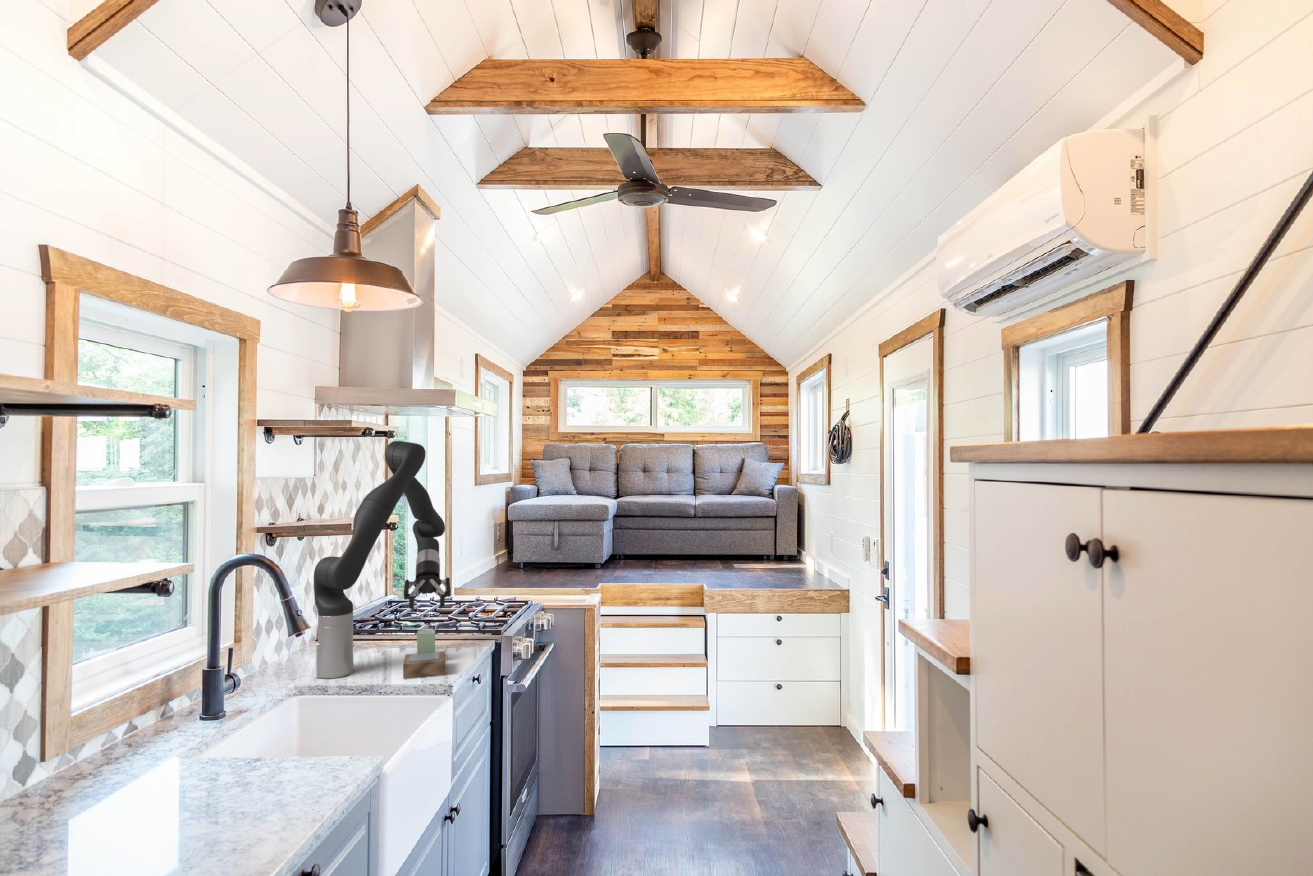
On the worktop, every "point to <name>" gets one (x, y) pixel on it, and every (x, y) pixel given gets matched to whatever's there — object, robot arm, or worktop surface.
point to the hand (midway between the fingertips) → (427, 608)
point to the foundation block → (424, 664)
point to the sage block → (426, 641)
